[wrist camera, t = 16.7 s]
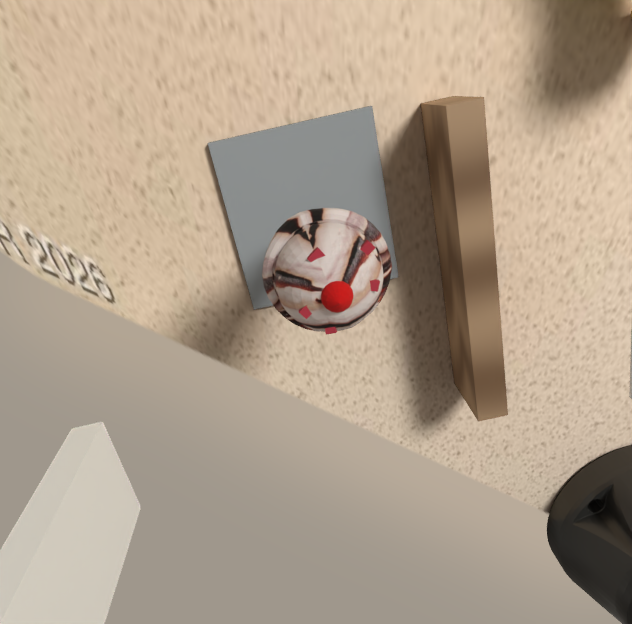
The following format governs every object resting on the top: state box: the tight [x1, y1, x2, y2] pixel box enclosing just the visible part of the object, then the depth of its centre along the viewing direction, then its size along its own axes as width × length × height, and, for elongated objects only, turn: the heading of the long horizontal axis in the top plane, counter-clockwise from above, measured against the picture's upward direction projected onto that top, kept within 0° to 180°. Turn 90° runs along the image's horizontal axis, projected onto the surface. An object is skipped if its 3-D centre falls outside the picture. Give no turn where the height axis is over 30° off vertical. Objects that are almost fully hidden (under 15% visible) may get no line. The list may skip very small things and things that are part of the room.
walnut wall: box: [421, 96, 508, 421], centre depth 34 cm, size 20×2×5 cm, turn 12°
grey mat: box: [208, 106, 398, 310], centre depth 34 cm, size 11×10×1 cm
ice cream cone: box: [262, 208, 392, 334], centre depth 27 cm, size 6×6×15 cm
